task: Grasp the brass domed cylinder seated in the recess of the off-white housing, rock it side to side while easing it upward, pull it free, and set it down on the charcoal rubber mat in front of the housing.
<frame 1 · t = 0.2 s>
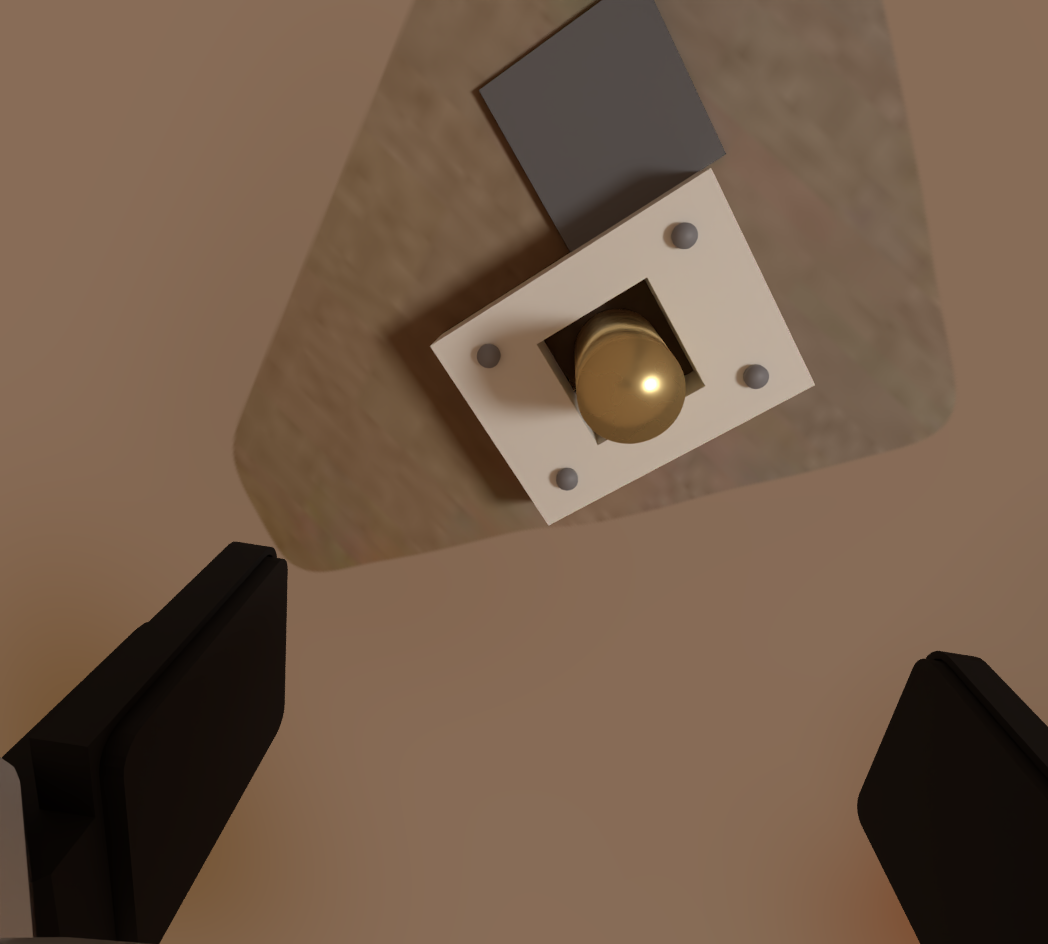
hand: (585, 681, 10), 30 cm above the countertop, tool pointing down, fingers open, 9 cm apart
brass domed cylinder: (622, 369, 34), in the housing
housing: (616, 351, 38), on the countertop
mat: (602, 123, 34), on the countertop
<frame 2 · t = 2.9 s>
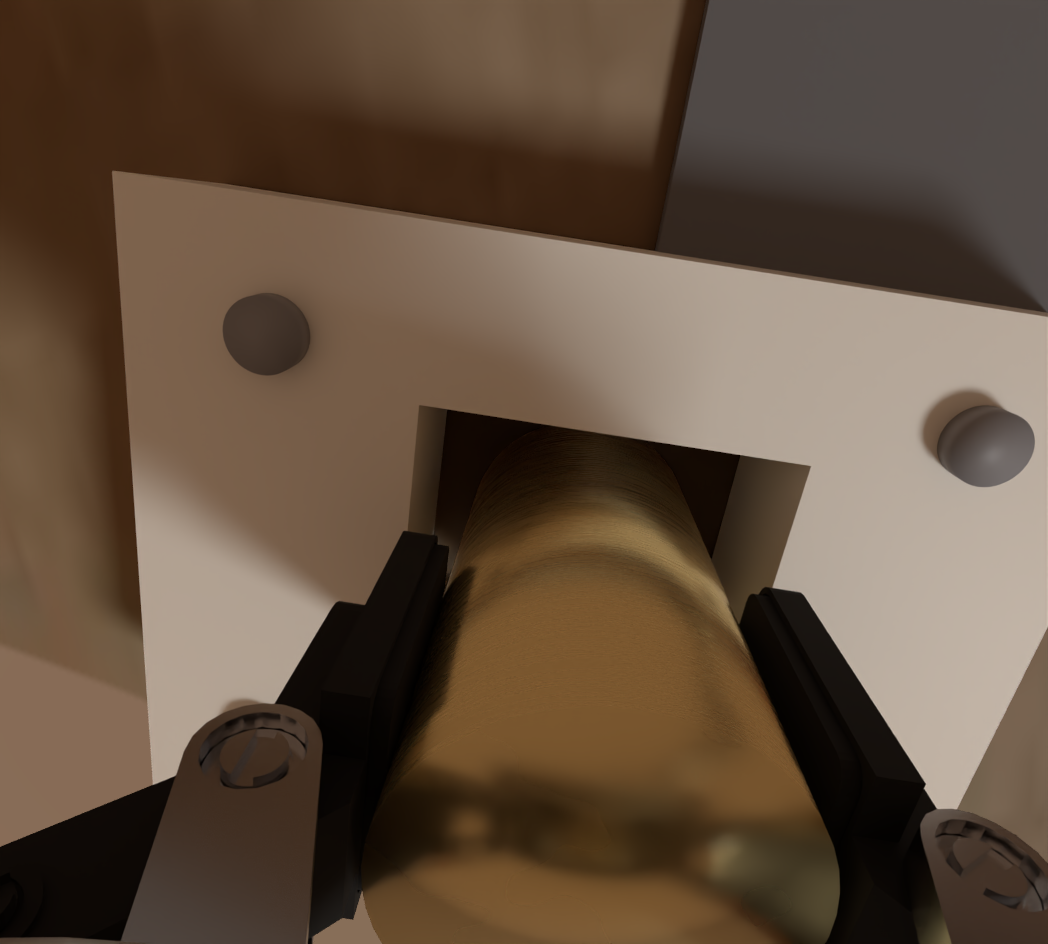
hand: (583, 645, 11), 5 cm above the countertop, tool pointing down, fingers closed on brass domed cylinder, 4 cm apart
brass domed cylinder: (583, 639, 11), in the housing, touching gripper
housing: (576, 522, 15), on the countertop
mat: (969, 18, 11), on the countertop
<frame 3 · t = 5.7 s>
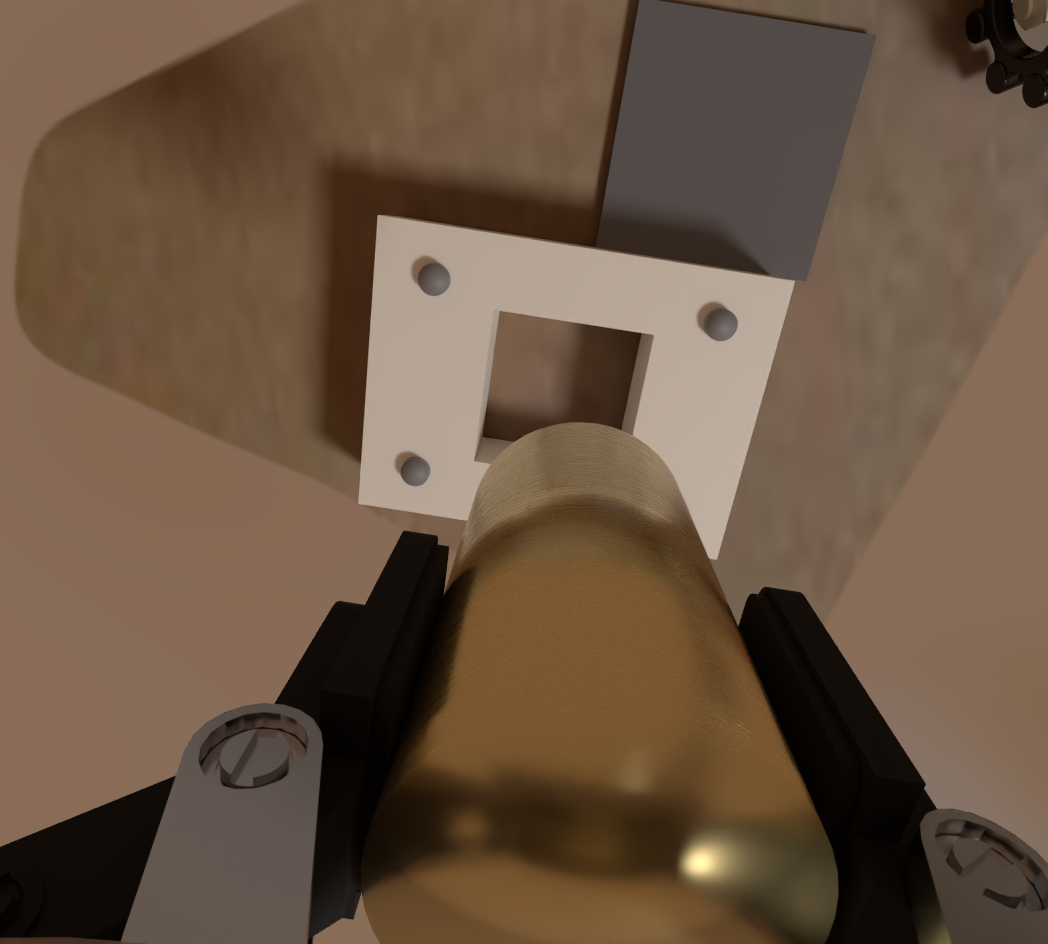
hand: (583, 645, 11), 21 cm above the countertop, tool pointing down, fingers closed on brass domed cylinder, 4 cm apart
brass domed cylinder: (582, 640, 11), point 21 cm above the countertop, touching gripper
housing: (560, 381, 31), on the countertop
mat: (725, 148, 27), on the countertop
when the fingers open (6 cm above the countertop, at t = 9.0 s): brass domed cylinder drops 1 cm, resting on mat.
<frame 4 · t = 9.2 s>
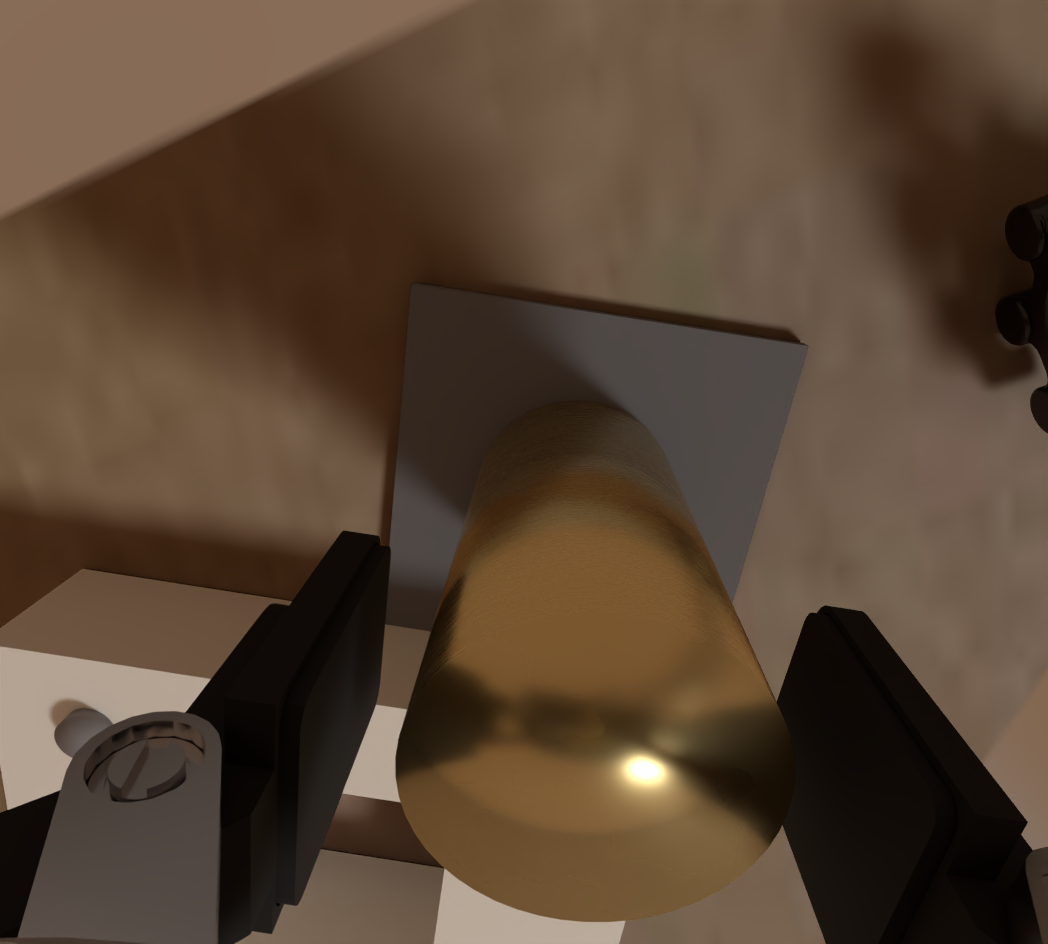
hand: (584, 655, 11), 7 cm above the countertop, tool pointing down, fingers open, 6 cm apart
brass domed cylinder: (580, 590, 12), on the mat
housing: (356, 778, 21), on the countertop
mat: (575, 492, 17), on the countertop
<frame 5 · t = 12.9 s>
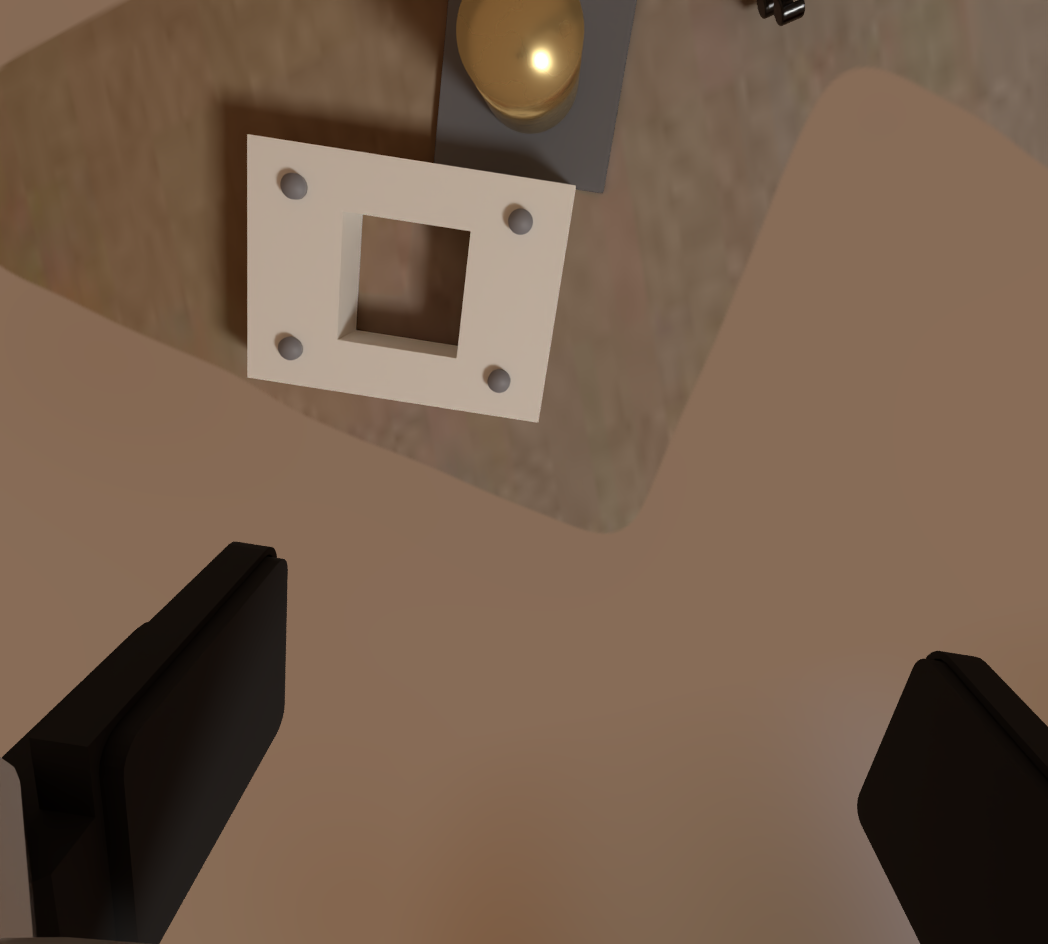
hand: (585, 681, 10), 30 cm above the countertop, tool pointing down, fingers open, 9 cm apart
brass domed cylinder: (526, 59, 29), on the mat
housing: (415, 281, 38), on the countertop
mat: (531, 84, 34), on the countertop
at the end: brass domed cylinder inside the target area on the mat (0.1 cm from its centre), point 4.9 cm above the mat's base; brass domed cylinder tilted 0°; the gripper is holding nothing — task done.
